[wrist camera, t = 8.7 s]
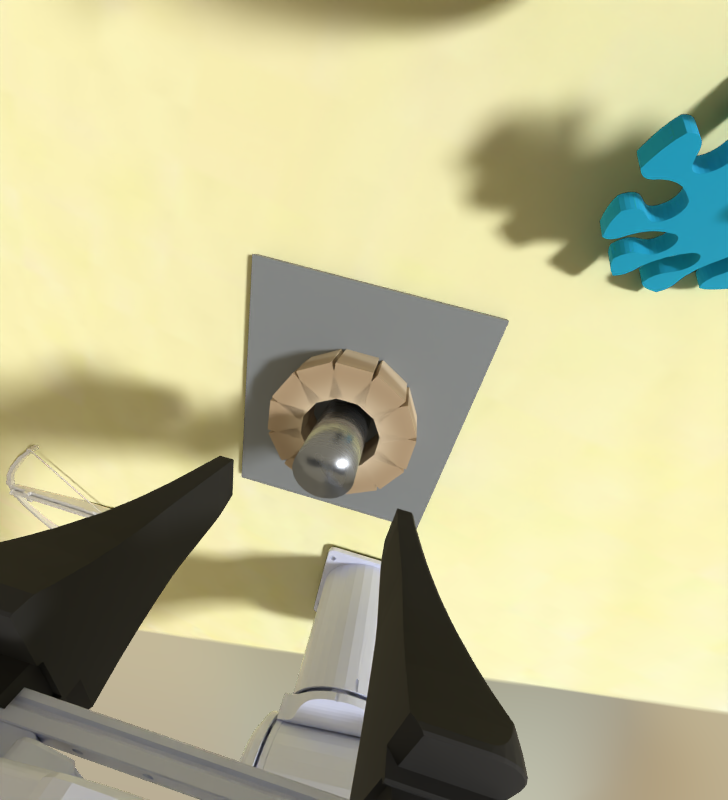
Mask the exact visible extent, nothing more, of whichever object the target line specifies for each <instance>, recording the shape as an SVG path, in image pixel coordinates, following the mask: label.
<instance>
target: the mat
mask: <svg viewBox="0 0 728 800" xmlns="http://www.w3.org/2000/svg"><path fill="white" fill-rule="evenodd" d="M508 322H509V321H508V320H507V319H503V318H500V317H496V316H492V315H488V314H484V313H480V312H477V311H473V310H469V309H465V308H461V307H457V306H454V305H450V304H446V303H442V302H438V301H434V300H431V299H427V298H423V297H419V296H415V295H411V294H408V293H404V292H400V291H396V290H392V289H388V288H385V287H381V286H377V285H373V284H369V283H366V282H362V281H358V280H354V279H350V278H346V277H343V276H339V275H335V274H331V273H327V272H323V271H320V270H316V269H312V268H308V267H304V266H300V265H297V264H293V263H289V262H285V261H281V260H277V259H274V258H270V257H266V256H262V255H258V254H252V274H251V295H250V315H249V336H248V357H247V377H246V398H245V418H244V439H243V459H242V477H243V478H247V479H250V480H253V481H257V482H260V483H264V484H267V485H270V486H274V487H277V488H280V489H284V490H287V491H290V492H294V493H297V494H301V495H304V496H307V497H311V498H314V499H317V500H321V501H324V502H327V503H331V504H334V505H338V506H341V507H344V508H348V509H351V510H354V511H358V512H361V513H364V514H368V515H371V516H375V517H378V518H381V519H385V520H388V521H391V522H392V521H393V518H394V516H395V513H396V510H397V508H398V509H401V510H405V511H408V512H412V514H413V516H414V521H415V525H416V529H417V527H418V525H419V522H420V520H421V518H422V516H423V513H424V511H425V509H426V507H427V504H428V502H429V500H430V498H431V495H432V493H433V491H434V489H435V486H436V484H437V482H438V480H439V477H440V475H441V473H442V471H443V468H444V466H445V464H446V462H447V459H448V457H449V455H450V453H451V450H452V448H453V446H454V444H455V441H456V439H457V437H458V435H459V432H460V430H461V428H462V426H463V423H464V421H465V419H466V417H467V414H468V412H469V410H470V408H471V405H472V403H473V401H474V399H475V396H476V394H477V392H478V390H479V387H480V385H481V383H482V381H483V378H484V376H485V374H486V372H487V370H488V367H489V365H490V363H491V361H492V358H493V356H494V354H495V352H496V349H497V347H498V345H499V343H500V340H501V338H502V336H503V334H504V331H505V329H506V327H507V325H508ZM339 349H342V351H343V352H344V351H345V350H346V349H348V350H352V351H356V352H359V353H363V354H367V355H370V356H374V357H378V358H379V361H378V365H379V364H380V363H381V362H382V361H383V360H384V361H385V362H386V363H387V364H388V365H389V366H390V367H391V368H392V369H393V370H394V371H395V372H396V373H397V374H398V375H399V376H400V377H401V378H402V379H403V380H404V381H405V382H406V383H407V387H409V388H410V391H411V395H412V399H413V403H414V407H415V410H416V414H417V438H416V444H415V447H414V450H413V452H412V455H411V458H410V460H409V463H408V466H407V468H406V469H404V473H402V474H401V475H399V476H398V477H397V478H395V479H394V480H392V481H391V482H389V483H388V484H387V485H385V486H384V487H382V488H381V489H379V488H378V487H377V490H376V491H368V492H360V493H352V494H344V495H343V496H340V497H337V498H330V499H328V498H320V497H317V496H314V495H312V494H310V493H308V492H307V491H305V490H304V489H303V488H302V487H301V486H300V485H299V484H298V483H297V481H296V480H295V478H294V475H293V471H292V469H290V468H289V467H288V466H287V465H285V464H284V463H285V461H286V460H287V459H286V460H281V458H280V456H279V454H278V452H277V450H276V448H275V446H274V444H273V442H272V439H271V437H270V435H269V432H270V431H271V430H268V421H269V410H270V400H271V399H272V398H273V397H272V396H273V395H274V394H275V393H276V391H277V390H278V389H279V388H280V387H281V386H282V385H283V384H284V382H285V381H286V380H287V379H288V378H289V377H290V376H291V374H292V373H293V372H294V371H296V370H297V369H298V368H299V367H300V366H301V365H302V364H303V363H304V362H305V361H306V360H307V359H310V358H311V357H313V356H317V355H321V354H324V353H328V352H332V351H336V350H339ZM378 365H377V366H378ZM329 401H330V400H327V401H323V402H318V403H316V404H315V409H314V415H315V417H316V420H317V421H318V419H319V418H320V416H321V414H322V413H323V411H324V409H325V408H326V406H327V405H328V403H329ZM377 434H378V431H377V428H376V425H375V422H374V419H373V418H372V419H371V423H370V427H369V430H368V434H367V437H366V441H365V442H368V441H369V440H370V439H372V438H373V437H374V436H375V435H377Z"/></svg>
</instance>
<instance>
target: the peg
mask: <svg viewBox="0 0 728 800" xmlns="http://www.w3.org/2000/svg"><path fill="white" fill-rule="evenodd" d="M371 419H372V417H371V416H370V415H369V414H368V413H366V412H365V411H364V410H363V409H362V408H361V407H360V406H359V405H357V404H354V403H350V402H347V401H343V400H340V399H332V400H330V401H329V403H328V405H327V406H326V408H325V409H324V411H323V413H322V414H321V416H320V418H319V419H318V421H317V423H316V424H315V426H314V428H313V429H312V431H311V432H310V434H309V436H308V437H307V439H306V441H305V442H304V444H303V446H302V447H301V449H300V450H299V452H298V454H297V455H296V457H295V459H294V461H293V465H292V471H293V475H294V478H295V480H296V481H297V483H298V484H299V485H300V486H301V487H302V488H303V489H304V490H305V491H307V492H308V493H310V494H312V495H314V496H317V497H320V498H328V499H330V498H337V497H340V496H343V495H344V494H346V493H347V492H348V491H349V490H350V489H351V488H352V486H353V483H354V480H355V476H356V473H357V469H358V466H359V462H360V459H361V455H362V452H363V448H364V444H365V441H366V437H367V434H368V430H369V427H370V423H371Z"/></svg>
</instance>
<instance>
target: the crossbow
mask: <svg viewBox="0 0 728 800" xmlns="http://www.w3.org/2000/svg"><path fill="white" fill-rule="evenodd" d="M39 447H40V446H38V445H34V446H32V447H29V448H27V450H26V452H25V453H23V454H22V455H21V456H19V457H18V458H17V459H16V460H15V462H14V463H13V464H12V465H11V467H10V469H9V471H8V473H7V481H6V483H7V485H8V486H9V488H10V490H11V491H10V494H11V495H13V496H14V497H16V498H17V499H18V500H19V501H20V503H21V504H22V505H23V506H24V507H26V508H27V509H28V510H29V511H30V512H31V513H32V514H33V515H34V516H36V517H37V518H38V519H39V520H40V521H42V522H43V523H44V524H45V525H46V526H48V527H49V528H50V529H53V528H56V527H59V526H57V525H56V524H55V523H53V522H52V521H51V520H49V519H48V518H46V517H45V516H44V515H43V514H41V513H40V512H39V511H38V510H37V509H35V508H34V507H33V506H32V505H30V504H29V503H28V502H27V501H30V502H32V501H37V502H40V503H43V504H46V505H49V506H52V507H55V508H58V509H62V510H65V511H68V512H71V513H74V514H77V515H80V516H83V517H86V518H87V517H90V516H93V515H96V514H99V513H102V512H104V511H107V510H110V508H107V507H104V506H100V505H97V504H94V503H91V502H89V501H88V500H87V499H86V498H85V497H84V496H83V495H81V494H80V493H79V492H78V491H77V490H76V489H75V488H74V487H72V486H71V485H70V484H69V483H68V482H67V481H66V480H64V479H63V478H62V477H61V476H60V475H59V474H58V473H57V472H55V471H54V470H53V469H52V468H51V467H50V466H49V465H47V464H46V463H45V462H44V461H43V460H42V459H41V458H40V457H38V456H37V455H36V454H35V453H34V451H36V450H37V449H39ZM31 453H33V454H34V455H35V456H36V457H37V458H39V459H40V460H41V461H42V462H43V463H44V464H45V465H47V466H48V467H49V468H50V469H51V470H52V471H53V472H54V473H56V474H57V475H58V476H59V477H60V478H61V479H62V480H64V481H65V482H66V483H67V484H68V485H69V486H70V487H71V488H73V489H74V490H75V491H76V492H77V493H78V494H79V495H81V496H82V497H83V498H84V499H85V500H86V501H84V500H81V499H77V498H72V497H68V496H64V495H60V494H56V493H51V492H47V491H43V490H39V489H34V488H30V487H26V486H22V485H18V484H15V481H14V474H15V472H16V470H17V469H18V467H19V465H20V464H21V463H22V462H23V461H24V460H25V459H26V458H27V456H28V455H30V454H31ZM23 497H24V498H26V499H27V501H26V500H25V499H24V498H23Z"/></svg>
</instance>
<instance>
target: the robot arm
mask: <svg viewBox="0 0 728 800" xmlns="http://www.w3.org/2000/svg"><path fill="white" fill-rule="evenodd" d="M233 462H234V460H233V459H229V458H226V457H222V456H219V457H217V458H215V459H213V460H211V461H210V462H208V463H206V464H204V465H202V466H200V467H199V468H197V469H195V470H193V471H191V472H189V473H187V474H186V475H184V476H182V477H180V478H178V479H176V480H174V481H172V482H170V483H168V484H166V485H164V486H162V487H160V488H158V489H156V490H154V491H152V492H150V493H148V494H146V495H143V496H141V497H139V498H137V499H134V500H132V501H130V502H127V503H125V504H122V505H120V506H117V507H115V508H112V509H110V510H107V511H104V512H102V513H99V514H96V515H93V516H90V517H87V518H84V519H81V520H78V521H75V522H73V523H69V524H66V525H63V526H60V527H56V528H53V529H50V530H46V531H42V532H39V533H35V534H32V535H28V536H24V537H20V538H16V539H12V540H8V541H3V542H0V800H148V799H145V798H142V797H139V796H137V795H134V794H131V793H128V792H125V791H122V790H119V789H116V788H113V787H109V786H107V785H103V784H100V783H96V782H93V781H89V780H86V779H84V778H83V777H82V776H81V775H80V774H79V772H78V771H77V769H76V768H75V761H74V760H73V759H71V758H69V757H67V756H65V755H63V754H61V753H59V752H58V751H56V750H53V749H52V748H50V747H53V748H56V749H59V750H61V751H64V752H67V753H70V754H73V755H76V756H78V757H81V758H84V759H87V760H90V761H93V762H95V763H98V764H101V765H104V766H107V767H110V768H113V769H115V770H118V771H121V772H124V773H127V774H129V775H132V776H135V777H138V778H141V779H143V780H146V781H149V782H152V783H155V784H158V785H160V786H163V787H166V788H169V789H172V790H175V791H177V792H180V793H183V794H186V795H189V796H191V797H194V798H197V799H200V800H508V799H509V798H511V797H512V796H514V795H516V794H517V793H519V792H520V791H521V790H522V789H523V788H524V787H525V786H526V784H527V779H528V777H527V772H526V767H525V762H524V758H523V753H522V750H521V746H520V743H519V740H518V737H517V732H516V729H515V726H514V723H513V722H512V721H511V719H510V718H509V716H508V715H507V713H506V712H505V710H504V709H503V707H502V706H501V704H500V703H499V701H498V700H497V699H496V697H495V696H494V694H493V693H492V691H491V690H490V688H489V686H488V685H487V683H486V682H485V680H484V678H483V677H482V675H481V673H480V672H479V670H478V669H477V667H476V665H475V664H474V662H473V660H472V658H471V657H470V655H469V653H468V651H467V649H466V648H465V646H464V644H463V642H462V641H461V639H460V637H459V635H458V633H457V631H456V630H455V628H454V626H453V624H452V622H451V620H450V618H449V616H448V613H447V611H446V609H445V607H444V605H443V603H442V600H441V598H440V596H439V594H438V591H437V589H436V586H435V584H434V581H433V579H432V576H431V574H430V571H429V568H428V565H427V562H426V559H425V556H424V553H423V550H422V547H421V544H420V540H419V537H418V533H417V529H416V525H415V521H414V516H413V514H412V512H408V511H405V510H401V509H398V508H397V510H396V513H395V516H394V518H393V521H392V523H391V526H390V529H389V531H388V534H387V536H386V539H385V543H384V549H383V554H382V561H379V560H376V559H373V558H369V557H366V556H363V555H360V554H356V553H353V552H350V551H346V550H343V549H340V548H337V547H331V548H330V549H329V552H328V555H327V559H326V563H325V567H324V571H323V575H322V578H321V582H320V586H319V590H318V594H317V597H316V601H315V605H314V610H315V611H316V615H315V619H314V622H313V626H312V629H311V633H310V636H309V640H308V643H307V647H306V650H305V654H304V657H303V661H302V664H301V668H300V671H299V675H298V678H297V682H296V685H295V689H294V692H293V694H288V693H285V694H284V697H283V700H282V704H281V706H280V710H279V711H272V712H270V713H269V714H268V715H267V716H266V717H265V719H264V720H263V721H262V722H261V724H260V725H258V727H257V728H256V729H255V731H254V732H253V734H252V735H251V738H250V739H249V741H248V743H247V745H246V747H245V749H244V752H243V754H242V757H241V759H240V762H239V761H236V760H233V759H230V758H227V757H224V756H221V755H219V754H216V753H213V752H210V751H207V750H204V749H201V748H198V747H195V746H193V745H190V744H187V743H184V742H181V741H178V740H175V739H172V738H169V737H167V736H164V735H161V734H158V733H155V732H152V731H149V730H146V729H143V728H141V727H138V726H135V725H132V724H129V723H126V722H123V721H120V720H117V719H114V718H112V717H108V716H106V715H103V714H100V713H97V712H94V711H91V710H88V709H90V708H91V707H93V705H94V703H95V701H96V700H97V698H98V696H99V694H100V693H101V691H102V689H103V687H104V686H105V684H106V682H107V680H108V679H109V677H110V675H111V673H112V672H113V670H114V668H115V667H116V665H117V663H118V661H119V659H120V658H121V656H122V655H123V653H124V651H125V650H126V648H127V646H128V645H129V643H130V641H131V640H132V638H133V636H134V635H135V633H136V632H137V630H138V628H139V627H140V625H141V623H142V622H143V620H144V619H145V617H146V616H147V614H148V612H149V611H150V609H151V608H152V606H153V605H154V603H155V601H156V600H157V598H158V597H159V595H160V594H161V592H162V591H163V589H164V588H165V586H166V585H167V583H168V582H169V580H170V579H171V577H172V576H173V574H174V573H175V572H176V570H177V569H178V568H179V566H180V565H181V564H182V562H183V561H184V560H185V559H186V557H187V556H188V555H189V554H190V552H191V551H192V550H193V549H194V547H195V546H196V545H197V544H198V542H199V541H200V540H201V539H202V537H203V536H204V535H205V534H206V532H207V531H208V530H209V529H210V527H211V526H212V525H213V524H214V522H215V521H216V520H217V518H218V517H219V516H220V514H221V513H222V511H223V509H224V508H225V506H226V505H227V503H228V501H229V500H230V498H231V496H232V491H233ZM46 745H47V746H46ZM48 746H50V747H48Z"/></svg>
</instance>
